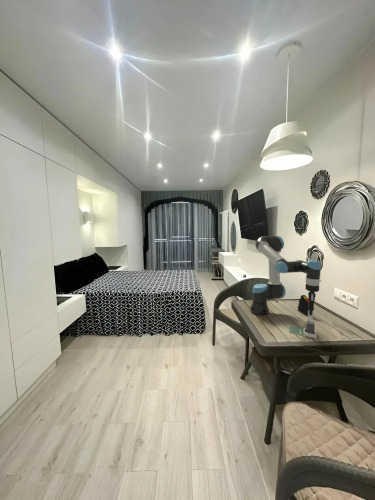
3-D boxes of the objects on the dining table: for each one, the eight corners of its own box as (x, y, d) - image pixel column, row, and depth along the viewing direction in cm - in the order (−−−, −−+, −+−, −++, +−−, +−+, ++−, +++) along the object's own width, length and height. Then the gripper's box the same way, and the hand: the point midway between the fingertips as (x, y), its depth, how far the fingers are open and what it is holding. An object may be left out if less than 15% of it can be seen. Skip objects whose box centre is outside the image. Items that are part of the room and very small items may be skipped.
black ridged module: (298, 307, 176) (305, 294, 168) (308, 319, 165) (315, 306, 157) (294, 307, 175) (301, 294, 167) (304, 319, 164) (311, 306, 156)
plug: (306, 335, 131) (306, 323, 130) (306, 332, 135) (306, 320, 134) (314, 336, 129) (315, 324, 128) (313, 333, 133) (314, 322, 132)
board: (289, 334, 134) (289, 329, 134) (289, 326, 145) (290, 322, 144) (317, 340, 127) (317, 335, 126) (315, 332, 137) (316, 327, 137)
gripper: (320, 288, 121) (317, 324, 124) (318, 282, 132) (316, 316, 135) (305, 286, 124) (303, 322, 127) (305, 281, 136) (303, 314, 139)
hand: (310, 319), depth 131 cm, fingers closed
